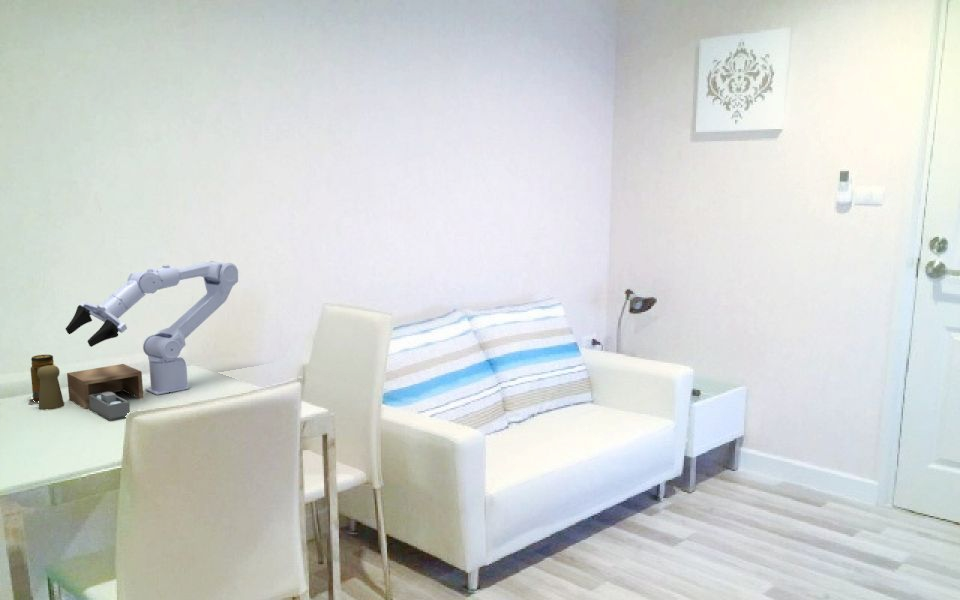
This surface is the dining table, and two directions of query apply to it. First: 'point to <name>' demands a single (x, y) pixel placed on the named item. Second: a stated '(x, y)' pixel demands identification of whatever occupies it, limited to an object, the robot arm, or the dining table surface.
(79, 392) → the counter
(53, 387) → the cork
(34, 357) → the condiment
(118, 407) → the tray
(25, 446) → the dining table surface
